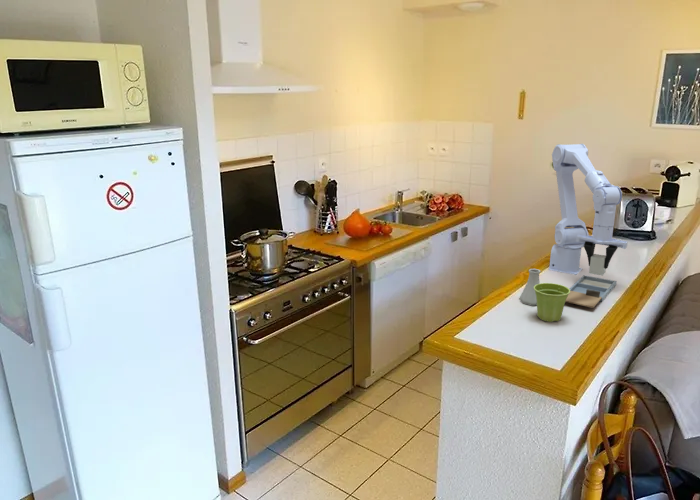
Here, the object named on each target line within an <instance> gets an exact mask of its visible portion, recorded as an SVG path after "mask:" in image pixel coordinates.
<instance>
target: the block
mask: <svg viewBox="0 0 700 500" xmlns="http://www.w3.org/2000/svg"><path fill="white" fill-rule="evenodd" d="M605 260H606V254H605V255H603V254H597V253H594V254H593V255H592V256H591V260H590V266H589V268H588V269H589V271H588V274H591V275H595V276H604V275H605V274H606V271H607V269H605V268H604V265H605Z"/></svg>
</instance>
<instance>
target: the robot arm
mask: <svg viewBox="0 0 700 500" xmlns="http://www.w3.org/2000/svg"><path fill="white" fill-rule="evenodd" d="M551 160H552V166H553V170H554V171H555V173H556V174H555V175H556V183H557V189H558V190H557V191H558V197H559V198H558V200H559V208H560V214H561V215H560V216H561V220H559V221H558V223H557V224H555V226H554V229H555V231H554V242H555V244H553V245H552V247H551V250H550V256H549V257H550V258H549V266H548V271H553V272H557V273H564V274H569V275H575V276H576V275H578V274H579V273H580V272H581V271H582V270H583V268H582V267H580V264H581V257H582V255H581V253H582V248H584V250H585V253H586V256H587V261H588V266H589V267H590V260H591V256H592V255H593V254H595V250H596V249H595V248H596V245H601V246H607V247H605V256H606V260H605V265H604V268H605V269H606V270H607V269H608V267H609V265H610V262H611V260H612V258H613V256H614V254H615V253H616V251H617V250H618V248H619V249H620V248H621V249H624V250H625V249H627V248H628V241H626V240H620V239H616V238H613V233H614V226H615V219H616V212H617V205H619V204H620V203H621V201H622V199H623V192H622V189H621V188H620V186H618V185H614V184H612V183H611V182H610V181H609V180H608V178H607V177H606V175H605V174H604V172H603V170H597V169H596V168H595V167H594V165H593V163H592V161H591V160H590V158H589V149H588V147H587V145H585V144H584V143H578V144H577V143H574V144H573V143H572V144H571V143H570V144H562V143H561V144H556V145H555V146H554V149H553V151H552V153H551ZM577 170H579V171H580V172H581V173H582V174H583V175H584V176H585V177H584V183H585V184H586V186H587V187H588V188H589V190H590V192H591V193H592V202H593V210H594V219H593V227H592V235H590V234H589V231H588V229H587V227H586V222H584V221H583V220H582V219H581V218H579V216H578V215H579V214H578V208H577V199H576V191H575V183H574V175H573V174H574V172H575V171H577Z"/></svg>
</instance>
